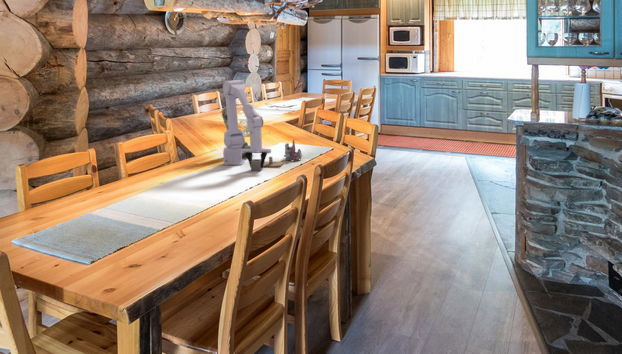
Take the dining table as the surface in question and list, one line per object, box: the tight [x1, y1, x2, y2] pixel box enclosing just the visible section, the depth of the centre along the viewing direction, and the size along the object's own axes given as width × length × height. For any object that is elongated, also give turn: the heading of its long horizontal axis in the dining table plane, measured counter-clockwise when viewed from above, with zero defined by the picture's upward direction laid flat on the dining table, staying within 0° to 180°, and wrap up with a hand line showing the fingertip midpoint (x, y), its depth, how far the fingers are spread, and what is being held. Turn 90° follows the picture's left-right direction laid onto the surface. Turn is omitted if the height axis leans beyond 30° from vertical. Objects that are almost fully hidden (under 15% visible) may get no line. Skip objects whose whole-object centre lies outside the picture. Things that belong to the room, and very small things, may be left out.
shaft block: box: [263, 156, 285, 168], centre depth 296 cm, size 12×10×4 cm
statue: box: [220, 106, 250, 157], centre depth 321 cm, size 16×18×30 cm
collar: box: [250, 158, 264, 172], centre depth 286 cm, size 5×5×5 cm
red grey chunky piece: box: [283, 139, 303, 161], centre depth 310 cm, size 11×11×12 cm
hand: (256, 167), depth 286 cm, fingers closed on collar, 5 cm apart
